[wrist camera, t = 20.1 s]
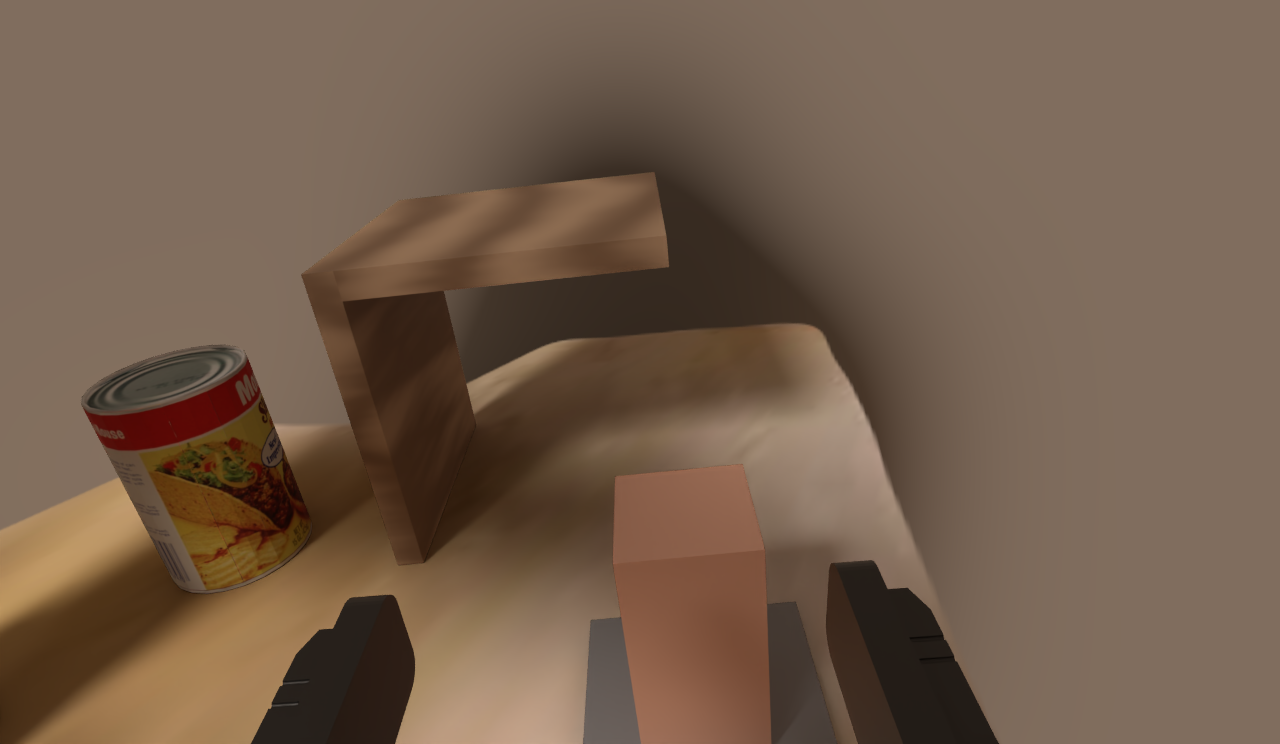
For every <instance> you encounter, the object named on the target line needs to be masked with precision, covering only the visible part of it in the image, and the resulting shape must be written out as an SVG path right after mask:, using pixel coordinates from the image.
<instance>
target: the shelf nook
mask: <svg viewBox="0 0 1280 744" xmlns="http://www.w3.org/2000/svg"><path fill="white" fill-rule="evenodd" d="M663 267H669V262H668V250H667V239H666V232H665V227H664V221H663V216H662V211H661V205H660V200H659V194H658V189H657V184H656V178H655V173H654V172H650V173H641V174H632V175H623V176H614V177H606V178H597V179H587V180H578V181H569V182H560V183H551V184H541V185H532V186H524V187H514V188H505V189H496V190H488V191H478V192H469V193H460V194H451V195H442V196H433V197H424V198H415V199H405V200H399V201H397V202H396V203H395V204H393V205H392V206H391V207H389V208H388V209H387V210H385V211H384V212H383V213H382V214H380V215H379V216H377V217H376V218H375V219H374V220H372V221H371V222H370V223H368V224H367V225H366V226H364V227H363V228H362V229H360V230H359V231H358V232H356V233H355V234H354V235H352V236H351V237H350V238H349V239H347V240H346V241H345V242H343V243H342V244H341V245H339V246H338V247H337V248H335V249H334V250H333V251H331V252H330V253H329V254H328V255H326V256H325V257H324V258H322V259H321V260H320V261H318V262H317V263H316V264H314V265H313V266H312V267H311V268H309V269H308V270H307V271H305V272H304V273H303V274H302V275H301V276H302V278H303V281H304V284H305V288H306V291H307V294H308V297H309V300H310V303H311V306H312V309H313V312H314V314H315V318H316V321H317V324H318V327H319V329H320V332H321V336H322V338H323V342H324V345H325V347H326V351H327V354H328V357H329V359H330V362H331V365H332V369H333V372H334V375H335V378H336V381H337V383H338V387H339V390H340V393H341V396H342V399H343V402H344V405H345V408H346V410H347V413H348V417H349V420H350V423H351V426H352V429H353V432H354V435H355V438H356V441H357V444H358V447H359V450H360V453H361V456H362V459H363V462H364V465H365V468H366V471H367V474H368V477H369V480H370V483H371V486H372V489H373V492H374V495H375V498H376V501H377V504H378V507H379V510H380V513H381V516H382V519H383V522H384V525H385V528H386V531H387V534H388V537H389V540H390V543H391V546H392V549H393V552H394V555H395V558H396V561H397V564H398V565H404V564H415V563H424V561H425V558H426V555H427V553H428V550H429V547H430V545H431V542H432V540H433V537H434V534H435V532H436V529H437V526H438V524H439V521H440V519H441V516H442V513H443V511H444V508H445V505H446V503H447V500H448V497H449V495H450V492H451V490H452V487H453V484H454V482H455V479H456V476H457V474H458V471H459V468H460V466H461V463H462V461H463V458H464V455H465V453H466V450H467V447H468V445H469V442H470V439H471V437H472V434H473V432H474V429H475V426H476V423H475V418H474V414H473V410H472V406H471V402H470V398H469V394H468V389H467V385H466V381H465V377H464V373H463V369H462V365H461V361H460V356H459V352H458V348H457V344H456V340H455V336H454V332H453V327H452V323H451V319H450V315H449V311H448V307H447V303H446V298H445V294H444V291H445V290H455V289H465V288H474V287H483V286H493V285H503V284H512V283H521V282H530V281H540V280H550V279H559V278H569V277H578V276H588V275H597V274H606V273H615V272H625V271H635V270H644V269H654V268H663Z"/></svg>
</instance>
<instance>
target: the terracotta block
mask: <svg viewBox="0 0 1280 744" xmlns="http://www.w3.org/2000/svg"><path fill="white" fill-rule="evenodd" d="M613 569H614V575H615V581H616V588H617V594H618V600H619V607H620V613H621V619H622V626H623V632H624V638H625V645H626V651H627V657H628V664H629V670H630V676H631V683H632V689H633V695H634V702H635V708H636V714H637V721H638V727H639V734H640V740H641V744H771V715H770V685H769V655H768V624H767V594H766V563H765V548H764V544H763V540H762V536H761V532H760V529H759V525H758V521H757V517H756V513H755V510H754V506H753V502H752V498H751V494H750V491H749V487H748V483H747V479H746V475H745V472H744V468H743V464H737V465H727V466H716V467H706V468H696V469H685V470H675V471H664V472H654V473H644V474H633V475H623V476H615V500H614V537H613Z"/></svg>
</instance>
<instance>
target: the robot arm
mask: <svg viewBox="0 0 1280 744" xmlns="http://www.w3.org/2000/svg"><path fill="white" fill-rule="evenodd" d="M826 632H827V641H828V647H829V651H830V656H831V659H832V662H833V666H834V669H835V672H836V675H837V678H838V681H839V685H840V688H841V691H842V694H843V697H844V700H845V703H846V707H847V710H848V713H849V716H850V719H851V722H852V726H853V729H854V732H855V735H856V738H857V741H858V744H999V743H998V741H997V740H996V738H995V736H994V734H993V732H992V730H991V728H990V726H989V724H988V722H987V720H986V718H985V716H984V714H983V712H982V710H981V708H980V706H979V704H978V702H977V700H976V698H975V696H974V694H973V692H972V690H971V688H970V686H969V684H968V682H967V680H966V678H965V676H964V674H963V672H962V671H961V669H960V667H959V665H958V663H957V662H955V659H954V655H953V653H952V651H951V649H950V647H949V645H948V643H947V641H946V640H944V637H943V633H942V631H941V629H940V627H939V625H938V623H937V621H936V619H935V617H934V615H933V613H932V611H931V609H930V608H929V607H927V606H926V605H925V604H924V603H923V602H922V601H921V600H920V599H919V598H918V597H917V596H916V595H915V594H913V593H912V592H911V591H910V590H909V589H908V588H899V589H887V587H886V585H885V583H884V580H883V578H882V576H881V574H880V571H879V569H878V567H877V565H876V564H875V562H874V561H872V560H869V561H855V562H842V563H831V565H830V569H829V582H828V598H827V615H826ZM414 675H415V658H414V652H413V648H412V645H411V642H410V639H409V636H408V633H407V630H406V627H405V624H404V621H403V618H402V615H401V612H400V609H399V606H398V603H397V600H396V598H395V597H394V596H393V595H380V596H367V597H353V598H350V599H349V600H347V602H346V603H345V605H344V607H343V609H342V611H341V613H340V615H339V617H338V619H337V622H336V624H335V626H334V628H333V629H322V630H319V631H318V632H317V633H316V634H315V635H314V636H313V637H312V638H311V639H310V640H309V641H308V642H307V643H306V644H305V645H304V646H303V648H302V649H301V650H300V651H299V652H298V653H297V654H296V656H295V658H294V660H293V662H292V664H291V666H290V668H289V670H288V671H287V673H286V675H285V677H284V679H283V685H282V686H280V687H279V689H278V691H277V693H276V695H275V697H274V699H273V701H272V707H271V709H268V711H267V713H266V715H265V717H264V719H263V721H262V723H261V725H260V727H259V729H258V731H257V733H256V735H255V737H254V739H253V741H252V743H251V744H395V742H396V739H397V735H398V732H399V729H400V726H401V722H402V719H403V716H404V713H405V710H406V706H407V703H408V700H409V697H410V693H411V690H412V687H413V682H414Z"/></svg>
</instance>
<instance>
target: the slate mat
mask: <svg viewBox="0 0 1280 744" xmlns="http://www.w3.org/2000/svg"><path fill="white" fill-rule="evenodd" d="M767 624H768V655H769V685H770V715H771V744H837V741H836V738H835V734H834V731H833V727H832V724H831V721H830V717H829V714H828V710H827V707H826V704H825V700H824V697H823V693H822V690H821V686H820V683H819V680H818V676H817V673H816V669H815V666H814V663H813V659H812V656H811V652H810V649H809V645H808V642H807V639H806V635H805V632H804V628H803V625H802V622H801V618H800V615H799V611H798V608H797V604H796V602H786V603H775V604H767ZM583 744H641V740H640V734H639V727H638V721H637V714H636V708H635V702H634V695H633V689H632V683H631V676H630V670H629V664H628V657H627V651H626V645H625V638H624V632H623V626H622V619H621V617H620V618H609V619H598V620H591V625H590V641H589V657H588V673H587V690H586V706H585V722H584V738H583Z"/></svg>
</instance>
